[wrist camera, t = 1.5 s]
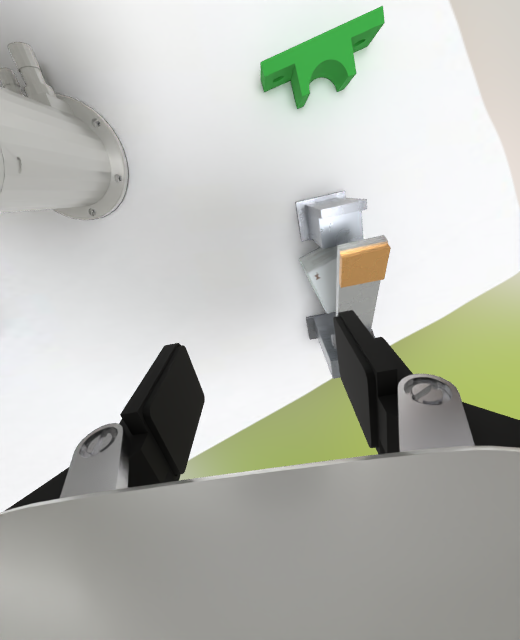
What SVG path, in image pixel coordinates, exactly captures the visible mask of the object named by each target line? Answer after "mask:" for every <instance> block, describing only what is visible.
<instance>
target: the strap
mask: <svg viewBox="0 0 520 640" xmlns="http://www.w3.org/2000/svg"><path fill="white" fill-rule="evenodd" d="M389 253H390V246H389V245H388V241H387V239H386V238H385V236H384V235H382V236H378V237H373V238H369V239H364V240H359V241H355V242H350V243H346V244H341V245H337V281H336V316H338V312H343V311H349V310H353V311H354V312H355V313H356V315H357V316H358V317H359V319H360V320H361V321H362V323H363V324H364V325H365V327H366V328H367V329H368V331H369V332H370V333H371V335H372V336H373V337H374V334H373V331H372V329H371V326H372V321H373V316H374V311H375V305H376V300H377V295H378V290H379V285H380V280H383V279H384V277H385V272H386V268H387V263H388V258H389ZM331 341H332V345H333V348H334V349H335V348H337V347H336V338H335V334H333V335H331Z"/></svg>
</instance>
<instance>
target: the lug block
mask: <svg viewBox="0 0 520 640" xmlns="http://www.w3.org/2000/svg"><path fill="white" fill-rule="evenodd" d="M296 209H297V215H298V222H299V228H300V235H301V241H306V240H311V239H313V240H314V241H315V242H316V243H317V244H318V245H319V246H320V247H321V248H322V249H325V248H330V247H335V246H337V245H341V244H346V243H350V242H355V241H359V240H363V228H362V210H365V209H367V199H354V198H346V197H345V191H341V192H337V193H333V194H329V195H324V196H320V197H316V198H312V199H307V200H303V201H299V202H296Z"/></svg>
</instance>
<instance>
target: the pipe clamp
mask: <svg viewBox="0 0 520 640" xmlns="http://www.w3.org/2000/svg"><path fill="white" fill-rule="evenodd" d="M384 23H385V22H384V13H383V6H381V7H379V8H377V9H375V10H373V11H370V12H368V13H366V14H364V15H362V16H360V17H357V18H355V19H353V20H351V21H349V22H347V23H344V24H342V25H340V26H338V27H336V28H334V29H331V30H329V31H327V32H325V33H323V34H321V35H318V36H316V37H314V38H312V39H310V40H308V41H305V42H303V43H301V44H299V45H297V46H295V47H292V48H290V49H288V50H286V51H284V52H282V53H280V54H277V55H275V56H273V57H271V58H269V59H267V60H264V61H262V62H261V82H262V86H263V90H264V92H266V91H268V90H270V89H273V88H275V87H277V86H279V85H282V84H284V83H286V82H288V81H291V85H292V89H293V93H294V98H295V102H296V106H297V109H298V108H301V107H303V106H304V105H305V102H306V100H307V98H308V96H309V94H310V91H309V83H310V82H311V81H313V80H314V79H316V78H320V77H324V78H327V79H329V80H330V81H332V82H333V84H334V85H335V87H336V90H337V92H338V91H341V90H343V89H344V88H345V87H346V86H347V84H348V83H349V82H350V81H351V79H352V78H353V77H354V76H355V74H356V69H355V62H354V55H353V53H354V52H356V51H358V50H360V49H363V48H365V47H367V46H368V45H369V43H370V42H371V41H372V39H373V38H374V37H375V35H376V34H377V32H378V31H379V30H380V28H381V27H382V25H383V24H384Z"/></svg>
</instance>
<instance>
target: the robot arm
mask: <svg viewBox="0 0 520 640" xmlns="http://www.w3.org/2000/svg"><path fill="white" fill-rule="evenodd" d="M8 49H9V51H10V54H11V56H12V58H13V60H14V62H15V64H16V67H17V69H18V71H19V72H20V73H21V75H22V77H23V79H24V81H25V84H26V87H24V91H25V93H26V95H27V97H26V96H24V95H23V93H22V91H21V89H20V85H19V83H18V81H17V79H16V77H15V75H14V72H13V71H12V70H11V69H8V68H0V80H1V82H2V85H3V87H4V88H3V87H0V213H11V212H23V211H35V210H47V209H53V210H54V211H56V212H58V213H60V214H62V215H64V216H67V217H70V218H73V219H80V220H90V219H97V218H101V217H104V216H106V215H108V214H110V213H111V212H112V211H114V210H115V209H116V208H117V207H118V205H119V204H120V203H121V201H122V199H123V197H124V195H125V193H126V188H127V184H128V168H127V161H126V157H125V154H124V150H123V148H122V146H121V143H120V141H119V139H118V137H117V136H116V134H115V133H114V131H113V130H112V128H111V127H110V125H109V124H108V123H107V122H106V121H105V120H104V119H103V117H102V116H100V115H99V114H98V113H97V112H96V111H94V110H93V109H92V108H90V107H89V106H87V105H85V104H84V103H82V102H80V101H78V100H75V99H73V98H71V97H68V96H64V95H60V94H55V93H54V91H53V88H52V87H51V86H49V85H47V84H46V82H45V80H44V78H43V75H42V73H41V72H42V71H41V69H40V67H39V64H38V62H37V60H36V57H35V55H34V53H33V51H32V48H31V46H29V45H28V44H25V43H22V42H14V43H10V44H9V45H8ZM99 122H100V126H98V123H99ZM120 176H121V181H120V179H119V178H120ZM94 210H95V212H96V213H95V212H94ZM333 320H334V329H335V338H336V347H337V355H338V364H339V372H340V377H341V380H342V382H343V385H344V387H345V389H346V392H347V394H348V397H349V399H350V401H351V403H352V406H353V408H354V411H355V414H356V416H357V418H358V421H359V423H360V426H361V428H362V430H363V433H364V435H365V437H366V440H367V442H368V445H369V447H370V448H375V447H376V450H377V452H378V455H370V456H362V457H354V458H346V459H339V460H330V461H323V462H315V463H307V464H299V465H292V466H284V467H277V468H269V469H262V470H254V471H247V472H239V473H232V474H225V475H217V476H210V477H203V478H195V479H188V480H181V481H179V478H180V474H183V473H184V472H185V469H186V465H187V462H188V458H189V455H190V451H191V448H192V444H193V441H194V437H195V433H196V430H197V426H198V423H199V419H200V416H201V412H202V409H203V405H204V393H203V391H202V388H201V386H200V383H199V381H198V378H197V375H196V373H195V370H194V368H193V365H192V363H191V360H190V358H189V355H188V353H187V350H186V348H185V346H181V345H180V344H179V343H175V344H170V345H165V346H164V347H163V349H162V350H161V352H160V354H159V355H158V357H157V358H156V360H155V361H154V363H153V364H152V366H151V368H150V369H149V371H148V372H147V374H146V375H145V377H144V378H143V380H142V382H141V383H140V385H139V386H138V388H137V389H136V391H135V392H134V394H133V396H132V397H131V399H130V400H129V402H128V403H127V405H126V406H125V408H124V410H123V411H122V413H121V414H120V415H121V417H122V420H121V422H120V423H119V424H117V423H112V424H107V425H104V426H101V427H99V428H97V429H95V430H94V431H93V432H91V433H90V434H88V435H87V436H86V437H85V438H84V439H83V440H82V441H81V442H80V443H79V444H78V446H77V447H76V449H75V451H74V454H73V457H72V461H71V464H70V467H69V468H67V469H66V470H64V471H63V472H61V473H60V474H58V475H57V476H55V477H54V478H52V479H51V480H50V481H48V482H47V483H45V484H44V485H42V486H41V487H39V488H38V489H36V490H35V491H33V492H32V493H30V494H29V495H27V496H26V497H25V498H23V499H22V500H20V501H19V502H17V503H16V504H14V505H13V506H11V507H10V508H8V509H7V510H5V511H4V512H1V513H0V640H520V420H517V419H514V418H510V417H508V416H504V415H501V414H498V413H495V412H492V411H489V410H485V409H482V408H479V407H476V406H473V405H470V404H467V403H464V402H462V401H461V398H460V394H459V392H458V390H457V388H456V387H455V386H454V385H453V384H452V383H450V382H449V381H447V380H445V379H443V378H441V377H437V376H434V375H429V374H412V372H411V371H410V370H409V369H408V367H407V366H406V365H405V364H404V363H403V361H402V360H401V359H400V358H399V356H398V355H397V354H396V353H395V352H394V350H393V349H392V348H391V347H390V346H389V344H388V343H387V342H386V341H385V339H384V338H382V337H378V338H374V337H373V336H372V335H371V333H370V332H369V331H368V329H367V328H366V327H365V325H364V324H363V323H362V321H361V320H360V319H359V317H358V316H357V315H356V313H355V312H354V311H353V310H349V311H343V312H338V316H336V317H334V318H333Z"/></svg>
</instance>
